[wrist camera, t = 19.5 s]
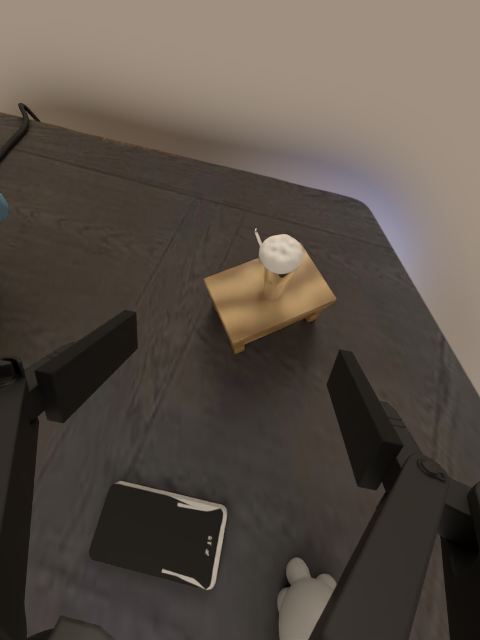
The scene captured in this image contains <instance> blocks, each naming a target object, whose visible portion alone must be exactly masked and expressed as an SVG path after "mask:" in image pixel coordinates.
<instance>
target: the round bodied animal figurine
mask: <svg viewBox="0 0 480 640" xmlns="http://www.w3.org/2000/svg"><path fill="white" fill-rule="evenodd" d="M286 574H287V578H288V581H289V583H290V585H291V587H285V588H283V589H282V590H281V591H280V592H279V594H278V598H277V606H278V611H279V637H280V640H308V639H309V637H310V635H311V633H312V631H313V629H314V627H315V625H316V623H317V621H318V620H319V618H320V616H321V614H322V612H323V610H324V608H325V606H326V604H327V602H328V600H329V599H330V597H331V595H332V593H333V591H334V589H335V587H336V585H337V584H336V582H335V580H334V579H333V577H332V576H330V575H329V574H320V575H319V576H318V577H317V578H316V579H315V578H311V576H310V572H309V569H308V567H307V565H306V564H305V562H304V561H303V560H302V559H300V558H298V557H295V558H293V559H291V560H290V561H289V562H288V564H287V567H286Z"/></svg>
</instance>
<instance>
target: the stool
mask: <svg viewBox="0 0 480 640" xmlns="http://www.w3.org/2000/svg"><path fill="white" fill-rule="evenodd" d="M299 244H300V245H301V248H302V251H303V260H302V263H301V264H300V266H299V268H298V269H297V271H296V272H295V274H294V276H293V277H292V279H291V281H290V283H289V284H288V286H287V288H286V290H285V291H284V293H283V295H282V296H281V297H280V298H279V299H278V300H272V301H269V300H267V299H265V298H263V297H262V295H261V294H260V292H259V277H260V270H259V258H257V259H255V260H252V261H249V262H247V263H244V264H241V265H239V266H236V267H234V268H231V269H228V270H226V271H223V272H220V273H218V274H215V275H212V276H210V277H207V278H204V282H205V285H206V288H207V290H208V292H209V294H210V297H211V300H212V304H213V306H214V308H215V311H216V312H218V315H219V317H220V319H221V321H222V324H223V326H224V328H225V330H226V333H227V335H228V337H229V339H230V342H231V347H232V349H233V351H234V354H237V353H240V352H242V351H244V347H245V344H247V343H249V342H251V341H254V340H256V339H258V338H261V337H263V336H265V335H268V334H270V333H272V332H274V331H277V330H279V329H281V328H284V327H286V326H288V325H291V324H293V323H295V322H298V321H300V320H302V319H305V320H306V322H307V323H309V322H311V321H313V320H315V319H316V318H317V317H318V316H319V315H320V314H321V312H322V311H323V310H324V309H325V308H326V307H328V306H330V305H332V304H333V303H334V302H335V300H336V298H335V296H334V294H333V293H332V291H331V290H330V288H329V287H328V285H327V283H326V282H325V280H324V279H323V277H322V276H321V274H320V273H319V271H318V269H317V268H316V266H315V265H314V263H313V262H312V260H311V258H310V257H309V255H308V254H307V252H306V251H305V249H304V248H303V246H302V244H301V243H299Z"/></svg>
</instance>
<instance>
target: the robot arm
mask: <svg viewBox="0 0 480 640" xmlns="http://www.w3.org/2000/svg"><path fill="white" fill-rule="evenodd" d="M18 106H19V109H20V111H21V112H22V115H23V119H24V120H23V124H22V125H21V127H20V128H19V130H18V131H17V132H16V133H15V134H14V135H13V136H12V137H11V138H10V139H9V140H8V141H7V142H6V143H5V144H4V146H3V147H2V148H1V149H0V160H1V159H2V158H3V157H4V155H5V154H6V153H7V152H8V151H9V149H10V148H11V147H12V146H13V145H14V144H15V143H16V142H17V141H18V140H19V139H20V138H21V137H22V135H23V134H24V133H25V132H26V130H27V128H28V126H29V118H28V115H27V113H26V111H27V112H28V113H29V114H30V115H31V117H33V119H34V120H35V121H39V122H41V121H40V120H39V119H38V118H37V117H36V115H35V114H34V113H33V112H32V111H31V110H30V109H29V108H28V107H27V106H26V105H24V104H23V103H19V104H18ZM25 110H26V111H25ZM8 215H9V206H8V204H7V202H6V200H5V199H4V197H3V195H2V194H1V192H0V222H2V221H4V220H5V219H6V218H7V217H8ZM137 348H138V342H137V320H136V312H132V311H127V310H124V311H123V312H121V313H120V314H118V315H117V316H115V317H114V318H112V319H111V320H109V321H108V322H106V323H105V324H103V325H102V326H100V327H99V328H97V329H96V330H94V331H93V332H91V333H90V334H88V335H87V336H85V337H84V338H82V339H81V340H79V341H78V342H76V343H74V342H72V343H69V344H67V345H64V346H61V347H60V348H58V349H57V350H55V351H54V352H53V353H50V354H49V355H47V356H46V358H45V357H44V358H43V359H41V360H40V361H38V362H36V363H35V364H33V365H32V366H30V367H29V368H27V369H25V370H24V369H23V365H22V362H21V359H20V358H18V357H15V356H4V357H0V640H115V639H114V638H113V637H112V636H111V635H109V634H108V633H107V632H106V631H105V630H104V629H102V628H101V627H100V626H99V625H95V624H91V623H87V622H83V621H80V620H76V619H72V618H68V617H64V616H60V618H59V619H58V621H57V623H56V625H55V627H54V629H49V630H46V631H43V632H40V633H37V634H35V635H33V636H31V637H29V638H27V627H26V616H25V606H24V599H25V585H26V573H27V561H28V549H29V537H30V525H31V513H32V501H33V489H34V477H35V464H36V452H37V440H38V428H39V420H38V416H39V415H40V414H41V413H42V412H43V411H44V410H45V413H46V417H47V420H50V421H55V422H59V423H64V422H65V421H66V420H67V419H68V418H69V417H70V416H71V415H72V414H73V413H74V412H75V411H76V410H77V409H78V408H79V407H80V406H81V405H82V404H83V403H84V402H85V401H86V400H87V399H88V398H89V397H90V396H91V395H92V394H93V393H94V392H95V391H96V390H97V389H98V388H99V387H100V386H101V385H102V384H103V383H104V382H105V381H106V380H107V379H108V378H109V377H110V376H111V375H112V374H113V373H114V372H115V371H116V370H117V369H118V368H119V367H120V366H121V365H122V364H123V363H124V362H125V361H126V360H127V359H128V358H129V357H130V356H131V355H132V354H133V353H134V352H135V351H136V350H137ZM327 387H328V390H329V394H330V397H331V400H332V404H333V407H334V410H335V413H336V417H337V420H338V423H339V427H340V430H341V433H342V437H343V440H344V443H345V446H346V450H347V453H348V456H349V460H350V463H351V466H352V469H353V473H354V476H355V479H356V483H357V486H358V487H362V488H367V489H372V490H377V488H378V487H379V485H380V484H381V482H382V483H383V485H384V488H385V490H386V492H385V494H384V495H383V497H382V498H381V500H380V501H379V503H378V505H377V506H376V510H375V512H374V514H373V516H372V518H371V520H370V522H369V524H368V526H367V528H366V530H365V531H364V533H363V535H362V537H361V539H360V541H359V543H358V545H357V547H356V549H355V551H354V553H353V554H352V556H351V558H350V560H349V562H348V564H347V566H346V568H345V570H344V572H343V574H342V576H341V577H340V579H339V581H338V583H337V585H336V587H335V589H334V591H333V593H332V595H331V597H330V599H329V600H328V602H327V604H326V606H325V608H324V610H323V612H322V614H321V616H320V618H319V620H318V621H317V623H316V625H315V627H314V629H313V631H312V633H311V635H310V637H309V639H308V640H408V639H409V636H410V632H411V628H412V624H413V620H414V617H415V613H416V609H417V605H418V602H419V598H420V594H421V590H422V587H423V583H424V579H425V575H426V572H427V568H428V564H429V560H430V557H431V553H432V549H433V545H434V542H435V538H436V534H438V535H440V538H441V549H442V560H443V570H444V581H445V591H446V602H447V612H448V623H449V633H450V640H480V482H478V483H476V484H475V485H474V487H473V488H471V487H469V486H466V485H464V484H462V483H460V482H458V481H455V480H453V479H451V478H449V477H448V475H447V473H446V471H445V470H444V469H443V468H442V467H441V466H440V465H439V464H438V463H437V462H435V461H434V460H433V459H431V458H429V457H427V456H425V455H423V454H422V452H421V450H420V449H419V447H418V445H417V444H416V442H415V441H414V439H413V437H412V436H411V434H410V432H409V431H408V429H406V426H405V424H404V423H403V422H402V419H401V418H400V416H399V414H398V413H397V411H396V410H395V409H394V408H393V407H392V406H391V405H390V404H389V403H387V402H382V401H379V400H378V398H377V396H376V394H375V392H374V391H373V389H372V387H371V385H370V383H369V382H368V380H367V378H366V376H365V374H364V373H363V371H362V369H361V367H360V365H359V364H358V362H357V360H356V358H355V356H354V355H353V353H352V352H350V351H345V350H339V352H338V355H337V358H336V361H335V363H334V366H333V369H332V371H331V374H330V377H329V380H328V382H327Z"/></svg>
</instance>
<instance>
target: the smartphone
mask: <svg viewBox="0 0 480 640" xmlns="http://www.w3.org/2000/svg"><path fill="white" fill-rule="evenodd" d="M226 519H227V509H226V507H225V506H224V505H221V504H217V503H213V502H209V501H204V500H200V499H196V498H192V497H188V496H183V495H179V494H175V493H171V492H166V491H162V490H158V489H154V488H150V487H145V486H141V485H137V484H133V483H129V482H124V481H119V482H117V483H115V484H113V485H112V486H111V487H110V489H109V491H108V494H107V497H106V500H105V503H104V506H103V510H102V513H101V516H100V519H99V522H98V525H97V528H96V531H95V534H94V537H93V540H92V543H91V546H90V550H89V555H90V557H91V559H93V560H95V561H99V562H103V563H107V564H111V565H114V566H118V567H122V568H126V569H130V570H133V571H137V572H141V573H145V574H149V575H152V576H156V577H160V578H164V579H168V580H171V581H175V582H179V583H183V584H187V585H190V586H194V587H198V588H202V589H205V590H209V589H211V588H212V587H213V586H214V585H215V582H216V576H217V570H218V565H219V559H220V553H221V548H222V542H223V536H224V531H225V525H226Z"/></svg>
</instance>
